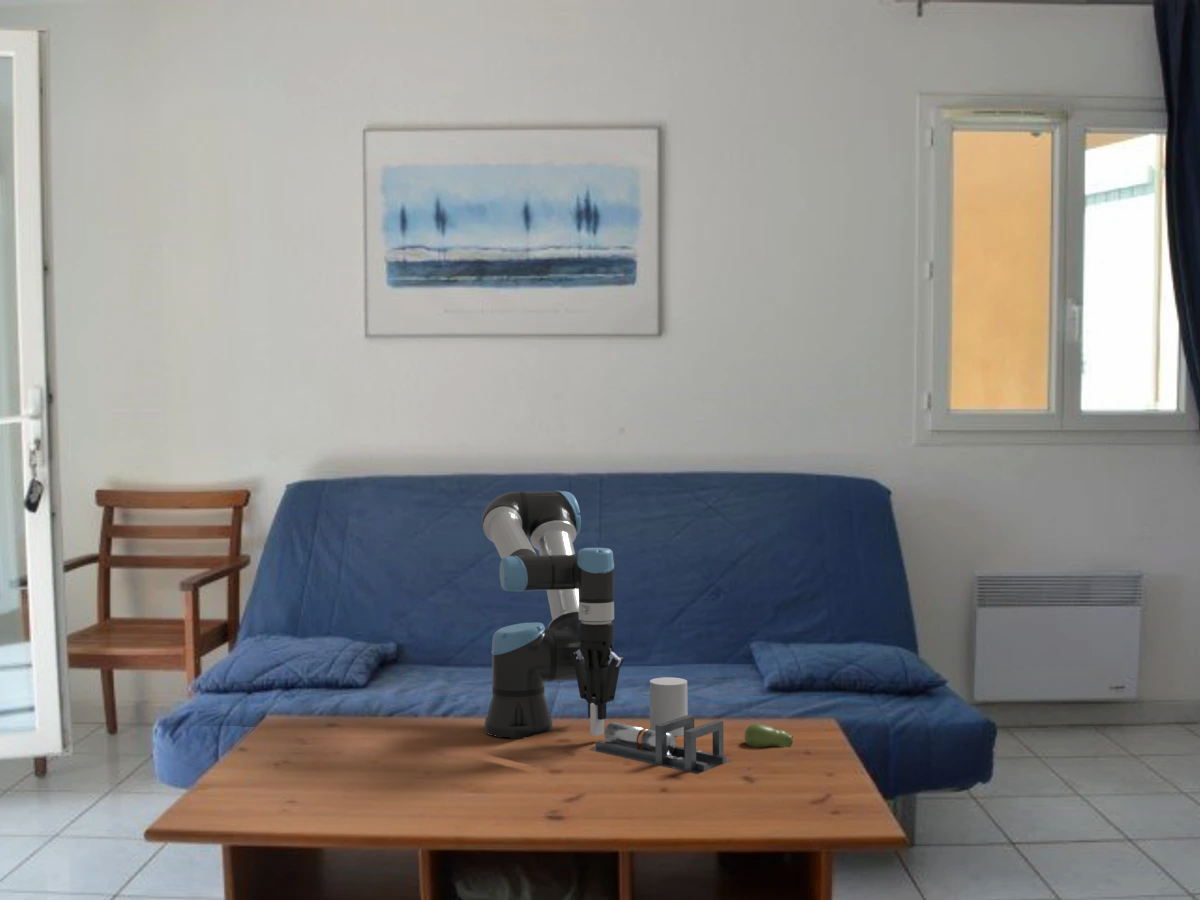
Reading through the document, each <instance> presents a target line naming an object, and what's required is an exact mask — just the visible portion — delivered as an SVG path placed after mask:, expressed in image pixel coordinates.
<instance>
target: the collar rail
mask: <svg viewBox="0 0 1200 900" xmlns="http://www.w3.org/2000/svg"><path fill="white" fill-rule="evenodd" d="M682 727H684V735H683V747H682V746H678V745H675V749H674V752H673V753H672V754H671V755H667V732H670V731H673V730H676V729H679V728H682ZM710 734H712V753H711V752H708V751H703V750H701V749H699V750H697V739H698V738H701V737H704V736H706V735H710ZM655 742H656V752H651V751H647V750H642V749H637V748H633V747H628V746H623V745H619V744H614V743H609V742H606V740H601V739H600V740H596V741H595V747H593V748H590V749H588V750H589V751H592V752H597V753H601V754H605V755H611V756H614V757H619V758H623V759H627V760H631V761H637V762H642V763H645V764H650V765H655V766H660V767H663V768H669V769H672V770H678V771H682V772H686V773H690V774H694V775H695V774H696V775H699V774H702V773H703V772H707V771H708V770H712V769H714V768H717V767H719V766H721V765H724V764H727V763H729V762H732V761H733V760H732V759H730V758H729V759H728V758H727V756H726V755H724V753H725V752H724V751H725V750H724V721H723V720H720V719H719V720H718V719H716V720H713V721H709V722H707V723H704V724H701V725H698V726H695V715H693V714H687V715H686V716H683V717H680V718H676V719H673V720H670V721H667V722H664V723H661V724H658V725H655Z"/></svg>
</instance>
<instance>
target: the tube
mask: <svg viewBox="0 0 1200 900" xmlns="http://www.w3.org/2000/svg"><path fill="white" fill-rule="evenodd" d="M675 737H676V736H674V735H673V734H670V733H667V755H671V754H672V753H673V752H674V749H675V746H677V745H676V744H677V743H676V742H677V741H676V738H675ZM604 739H605V740H604V741H605V742H609V743H614V744H619V745H623V746H628V747H633V748H637V749H642V750H647V751H651V752H656V742H655V730H650V728H649V729H648V728H644V727H639V726H634V725H628V724H624V723H619V722H615V721H611V722H610V723H608V724H607V726H606V727H605V729H604Z"/></svg>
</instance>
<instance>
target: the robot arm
mask: <svg viewBox="0 0 1200 900" xmlns="http://www.w3.org/2000/svg"><path fill="white" fill-rule="evenodd" d="M580 513H581V510H580V506H579V503H578V501H577V498H576V496H575V495H574V494H573V493H571V492H569V491H563V490H562V491H561V490H551V491H509V492H506V493H503V494H501V495H499V496H497V497H495V498H494V499H493V500H492V501H490V502H489V504H488V505H487V506H486V507H485V509H484V510H483V513H482V517H481V529H482V531H483V533H484V535H485V537H486V538H487V539H488V540H489V541H490V542H492V543H493V545H494V546H495V548H496V550H497V552H498V554H499V557H500V559H501V560H500V563H499V580H500V581H499V582H500V586H501V588H502V590H503V591H505V592H516V593H521V592H532V591H533V592H535V591H546V594H547V600H548V604H549V610H550V615H551V619H552V620H551V621H550V622H549V624H548V626H547V628H546V627H545V625H544V623H542V622H537V621H536V622H522V623H516V624H515V623H514V624H511V625H507V626H504V627H501V628H499V629H497V630H496V631H495V632H494V633H493V635H492V640H491V642H492V644H491V651H490V652H491V656H492V657H491V665H492V666H491V668H492V671H491V672H492V674H491V677H492V678H491V679H492V683H491V686H492V690H491V691H492V693H491V694H492V696H491V700H490V702H489V707H488V710H487V716H486V717H485V719H484V732H485V731H486V732H487V733H489V734H492V735H496V736H500V737H499V738H502V737H512V738H511V739H523V738H522V737H527V738H531V737H534V736H537V735H541V734H544V733H548V732H551V731H553V730H552V729H553V727H554V726H553V725H554V724H553V717H552V715H550V709H549V706H548V702H547V698H546V695H545V691H546V690H545V684H546V683H547V682H561V681H576V682H577V686H578V692H579V697H580V698H581V699H584V701H586V703H587V716H588V718H589V719H590V720H589V722H590V723H589V724H590V726H589V727H590V728H589V729H590V736H593V737H594V736H595V737H597V736H601V735H605V720H606V719H607V704H608V703H609V702H613V701H614V700H615V698H616V697H615V696H616V691H617V686H618V680H619V673H620V669H621V667H622V665H623V662H624V657H623V656H618V655H617V653H615V649H614V645H613V642H614V640H615V624H614V622H613V620H615V600H614V598H615V595H614V593H615V587H614V585H615V581H614V580H615V578H614V577H615V575H614V574H615V572H614V570H615V562H614V561H615V559H614V553H613V550H612V549H611V548H608V547H607V548H606V547H584V548H581V549H579V550H578V553H576V552H575V547H574V542H575V540H576V539H577V536H578V535H579V534H580V531H581V527H582V526H581V525H582V518H581V514H580ZM529 539H530V540H529ZM535 550H537V551H538V553H539V555H537V553H536V551H535ZM486 732H485V733H486ZM487 733H486V734H487ZM489 734H488V735H489Z"/></svg>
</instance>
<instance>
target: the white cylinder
mask: <svg viewBox="0 0 1200 900" xmlns="http://www.w3.org/2000/svg"><path fill="white" fill-rule="evenodd" d="M686 715H688V680H686V679H685V678H680V677H670V676H667V677H666V676H665V677H664V676H663V677H655V678H652V679H650V680H649V729H650V730H655V725H658V724H661V723H664V722H667V721H670V720H673V719H676V718H680V717H683V716H686ZM667 733H670V734H673V735H674V737H681V736H684V727H682V728H679V729H676V730H673V731H670V732H667Z"/></svg>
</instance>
